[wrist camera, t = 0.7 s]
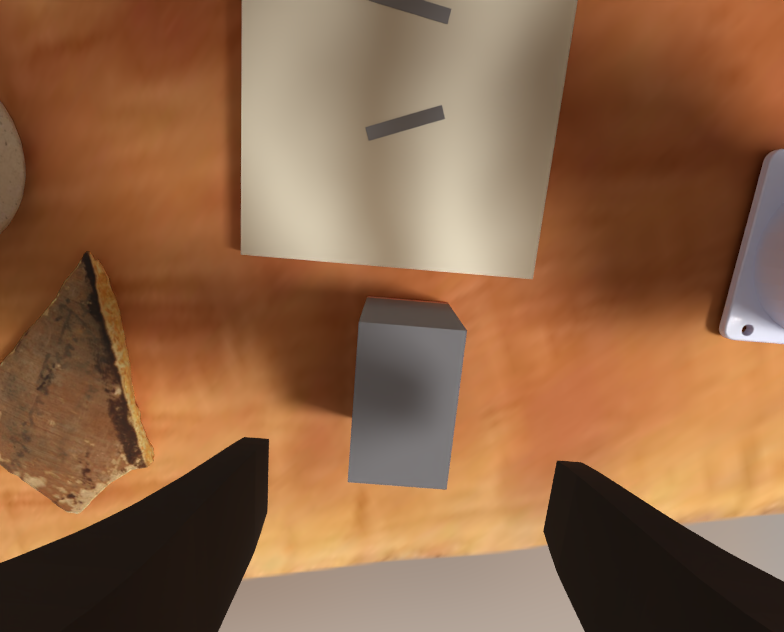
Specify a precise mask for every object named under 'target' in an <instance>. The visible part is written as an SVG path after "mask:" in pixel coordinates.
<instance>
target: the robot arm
mask: <svg viewBox="0 0 784 632" xmlns="http://www.w3.org/2000/svg"><path fill="white" fill-rule="evenodd" d="M745 325H746V330H745V331H744V332H743V333H742V328H743V327H744V326H745ZM719 332H720V334H721V335H722V336H723V337H725V338H728V339H732V340H741V341H753V342H765V343H777V344H784V149H778V150H774V151H772V152H770V153H769V154H768V155H767V156H766V157H765V159H764V161H763V165H762V169H761V172H760V176H759V180H758V184H757V187H756V191H755V195H754V199H753V202H752V206H751V210H750V213H749V217H748V221H747V225H746V228H745V232H744V236H743V240H742V243H741V247H740V251H739V255H738V258H737V262H736V266H735V270H734V273H733V277H732V281H731V285H730V288H729V292H728V296H727V300H726V303H725V307H724V311H723V315H722V318H721V322H720V326H719ZM268 458H269V439H261V438H248V437H244V438H242V439H240V440H238V441H237V442H235V443H233V444H232V445H230V446H229V447H227V448H226V449H224V450H223V451H221V452H220V453H218V454H217V455H215V456H213V457H212V458H210V459H209V460H207V461H206V462H204V463H203V464H201V465H199V466H198V467H196V468H195V469H193V470H192V471H190V472H188V473H187V474H185V475H184V476H182V477H180V478H179V479H177V480H175V481H174V482H172V483H170V484H168V485H167V486H165V487H163V488H162V489H160V490H158V491H156V492H155V493H153V494H151V495H149V496H148V497H146V498H144V499H143V500H141V501H139V502H137V503H135V504H133V505H132V506H130V507H128V508H126V509H124V510H122V511H120V512H118V513H116V514H114V515H112V516H110V517H108V518H106V519H104V520H101V521H99V522H97V523H95V524H93V525H91V526H89V527H87V528H85V529H82V530H80V531H78V532H76V533H74V534H71V535H69V536H66V537H64V538H61V539H59V540H56V541H54V542H52V543H49V544H47V545H44V546H42V547H39V548H37V549H35V550H32V551H30V552H27V553H25V554H22V555H20V556H18V557H15V558H12V559H10V560H7V561H4V562H2V563H0V632H218V630H219V628H220V626H221V624H222V621H223V620H224V617H225V615H226V613H227V611H228V609H229V606H230V604H231V602H232V600H233V598H234V595H235V593H236V591H237V589H238V587H239V585H240V583H241V580H242V578H243V576H244V574H245V572H246V569H247V567H248V565H249V563H250V561H251V558H252V556H253V554H254V551H255V548H256V545H257V542H258V539H259V536H260V533H261V530H262V527H263V524H264V521H265V517H266V514H267V505H268ZM544 534H545V537H546V541H547V544H548V547H549V550H550V553H551V556H552V559H553V562H554V565H555V568H556V571H557V573H558V576H559V578H560V580H561V582H562V584H563V586H564V589H565V591H566V593H567V595H568V597H569V599H570V601H571V603H572V606H573V608H574V610H575V612H576V614H577V616H578V618H579V620H580V622H581V625H582V627H583V629H584V631H585V632H784V582H783V581H781V580H780V579H777V578H775V577H773V576H772V575H770V574H768V573H766V572H764V571H762V570H760V569H758V568H756V567H755V566H753V565H751V564H749V563H747V562H745V561H743V560H741V559H739V558H737V557H736V556H733V555H732V554H730V553H728V552H727V551H725V550H723V549H721V548H719V547H718V546H716V545H714V544H713V543H711V542H709V541H708V540H706V539H704V538H703V537H701V536H699V535H697V534H696V533H694V532H692V531H691V530H689V529H687V528H686V527H684V526H682V525H681V524H679V523H678V522H676V521H674V520H673V519H671V518H669V517H668V516H666V515H665V514H663V513H662V512H660V511H658V510H657V509H655V508H654V507H652V506H651V505H649V504H648V503H646V502H644V501H643V500H641V499H640V498H638V497H637V496H635V495H634V494H632V493H631V492H629V491H627V490H626V489H624V488H623V487H621V486H620V485H618V484H617V483H615V482H614V481H612V480H611V479H609V478H607V477H606V476H604V475H603V474H601V473H599V472H598V471H596V470H594V469H593V468H591V467H589V466H587V465H585V464H583V463H581V462H569V461H557V463H556V468H555V474H554V479H553V484H552V489H551V494H550V500H549V505H548V510H547V515H546V520H545V526H544Z"/></svg>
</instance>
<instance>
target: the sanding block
mask: <svg viewBox="0 0 784 632" xmlns="http://www.w3.org/2000/svg"><path fill="white" fill-rule="evenodd" d="M466 334H467V330H466V329H465V327H464V326H463V324H462V323H461V321H460V320H459V319H458V317H457V316H456V314H455V313H454V311H453V310H452V308H451V307H450V305H449V304H448V303H446V302H434V301H422V300H410V299H398V298H386V297H374V296H367V299H366V302H365V305H364V308H363V311H362V314H361V317H360V320H359V327H358V341H357V356H356V370H355V385H354V399H353V414H352V428H351V443H350V457H349V472H348V482H353V483H366V484H380V485H393V486H406V487H419V488H433V489H447V481H448V474H449V466H450V458H451V450H452V443H453V435H454V427H455V419H456V411H457V404H458V396H459V388H460V380H461V373H462V365H463V357H464V349H465V342H466Z"/></svg>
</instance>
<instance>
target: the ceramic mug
mask: <svg viewBox="0 0 784 632" xmlns="http://www.w3.org/2000/svg"><path fill="white" fill-rule="evenodd" d="M25 179H26V164H25V159H24V153H23V148H22V143H21V140H20V137H19V135H18V132H17V130H16V127H15V125H14V122H13V120H12V118H11V117H10V115H9V113H8V112H7V110H6V108H5V107H4V105H3V104H2V102H1V101H0V234H1V233H2V232H3V230H4V229H5V228H6V227H7V226H8V225H9V224H10V222H11V221H12V219H13V217H14V215H15V214H16V212H17V210H18V208H19V206H20V203H21V200H22V197H23V193H24V185H25Z"/></svg>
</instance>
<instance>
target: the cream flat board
mask: <svg viewBox="0 0 784 632" xmlns="http://www.w3.org/2000/svg"><path fill="white" fill-rule="evenodd" d="M577 1H578V0H242V89H241V255H252V256H264V257H276V258H288V259H300V260H311V261H323V262H335V263H347V264H359V265H371V266H382V267H394V268H406V269H418V270H430V271H442V272H453V273H465V274H477V275H489V276H501V277H513V278H524V279H533V275H534V269H535V262H536V256H537V250H538V244H539V238H540V231H541V225H542V219H543V213H544V206H545V200H546V194H547V188H548V181H549V175H550V169H551V163H552V157H553V150H554V144H555V138H556V132H557V125H558V119H559V113H560V107H561V101H562V94H563V88H564V82H565V76H566V69H567V63H568V57H569V51H570V44H571V38H572V32H573V26H574V20H575V13H576V7H577Z"/></svg>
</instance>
